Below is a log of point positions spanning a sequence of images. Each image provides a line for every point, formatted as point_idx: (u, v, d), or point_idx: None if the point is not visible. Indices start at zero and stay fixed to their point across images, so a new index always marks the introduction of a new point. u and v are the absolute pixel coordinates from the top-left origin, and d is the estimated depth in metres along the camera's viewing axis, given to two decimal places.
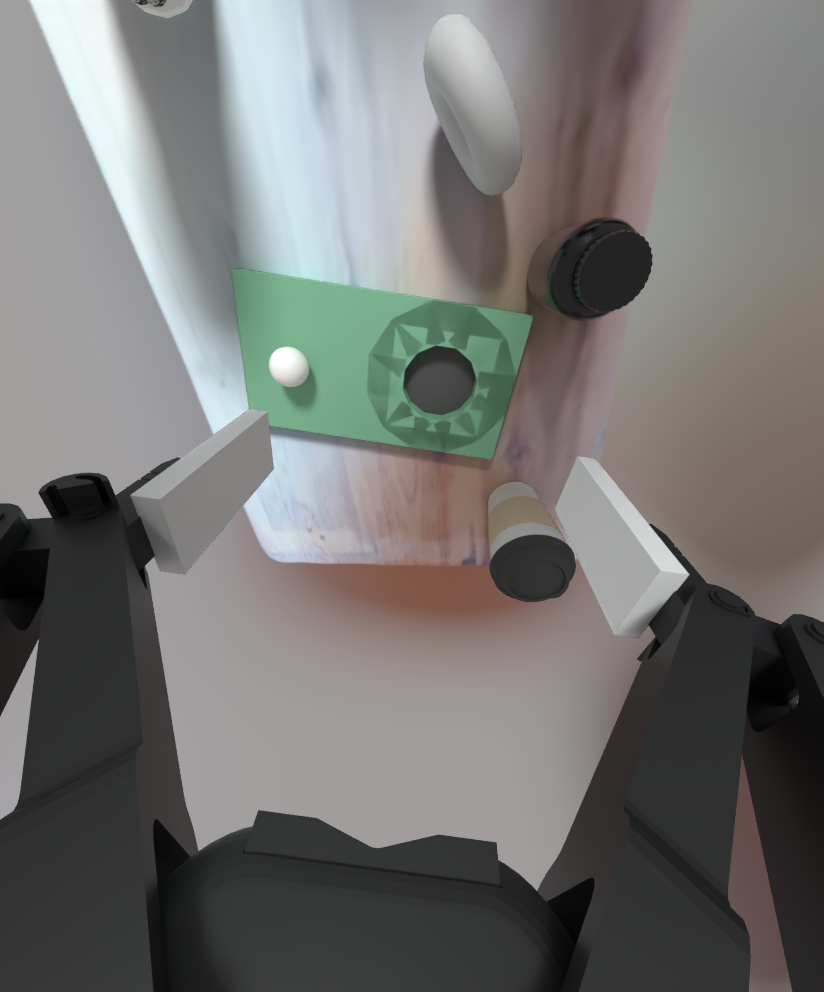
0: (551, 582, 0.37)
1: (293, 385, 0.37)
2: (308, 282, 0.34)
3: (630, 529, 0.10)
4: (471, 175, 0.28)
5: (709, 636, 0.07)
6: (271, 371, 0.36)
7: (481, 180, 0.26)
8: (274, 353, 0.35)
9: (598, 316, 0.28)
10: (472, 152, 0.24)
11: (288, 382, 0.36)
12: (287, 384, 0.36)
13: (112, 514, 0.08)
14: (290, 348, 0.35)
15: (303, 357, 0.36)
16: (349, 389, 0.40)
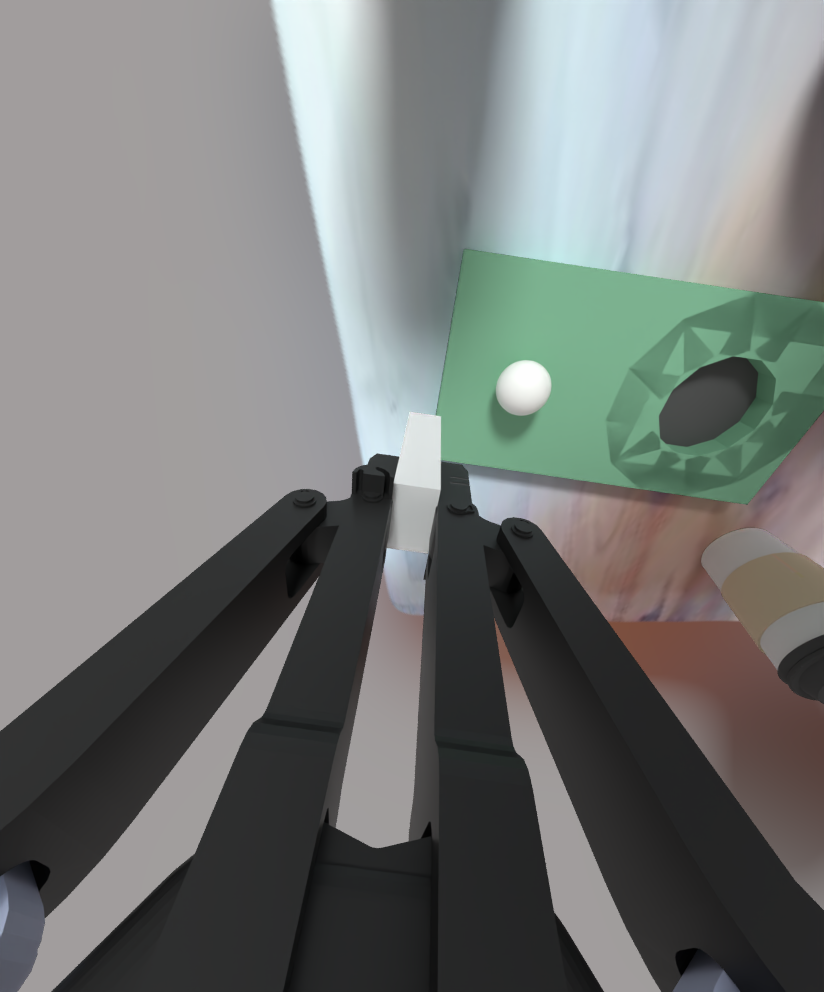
0: None
1: (528, 414, 0.26)
2: (575, 268, 0.24)
3: (419, 461, 0.12)
4: None
5: (455, 542, 0.09)
6: (507, 395, 0.25)
7: None
8: (516, 370, 0.25)
9: None
10: None
11: (529, 410, 0.25)
12: (523, 413, 0.26)
13: (385, 504, 0.10)
14: (535, 363, 0.25)
15: (549, 375, 0.26)
16: (581, 416, 0.29)
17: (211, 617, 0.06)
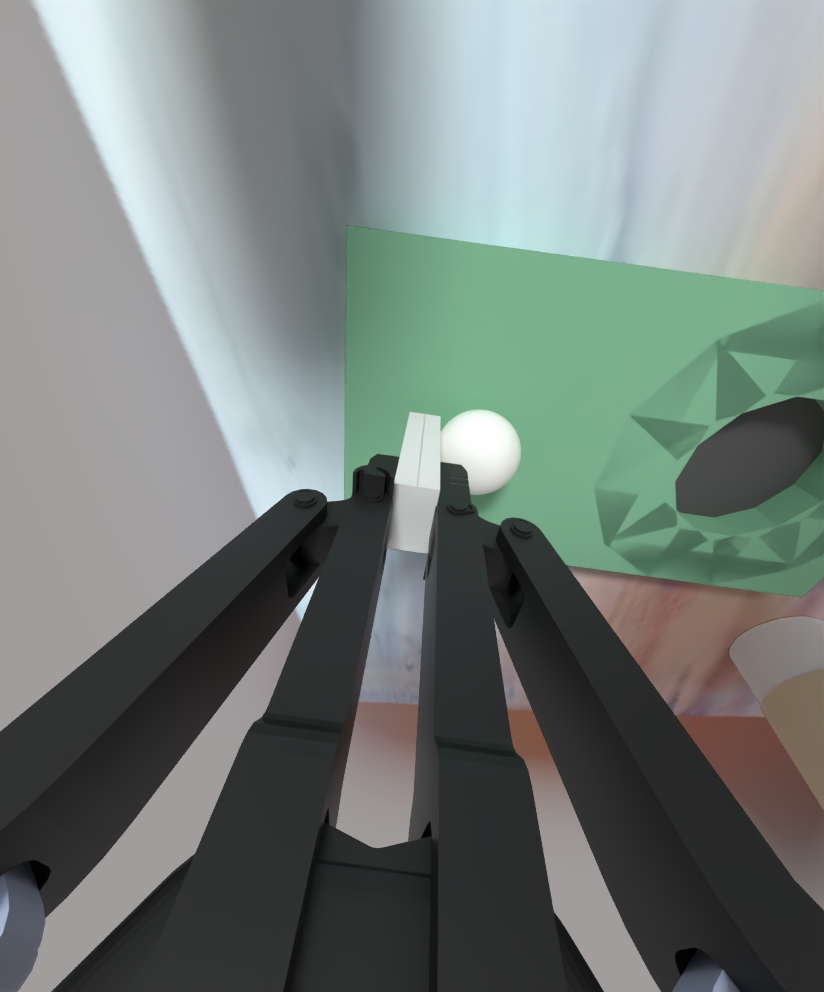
0: None
1: None
2: (535, 256, 0.14)
3: (419, 461, 0.12)
4: None
5: (455, 542, 0.09)
6: None
7: None
8: (471, 434, 0.15)
9: None
10: None
11: (497, 489, 0.16)
12: None
13: (385, 504, 0.10)
14: (495, 415, 0.15)
15: None
16: (558, 481, 0.19)
17: (212, 617, 0.06)
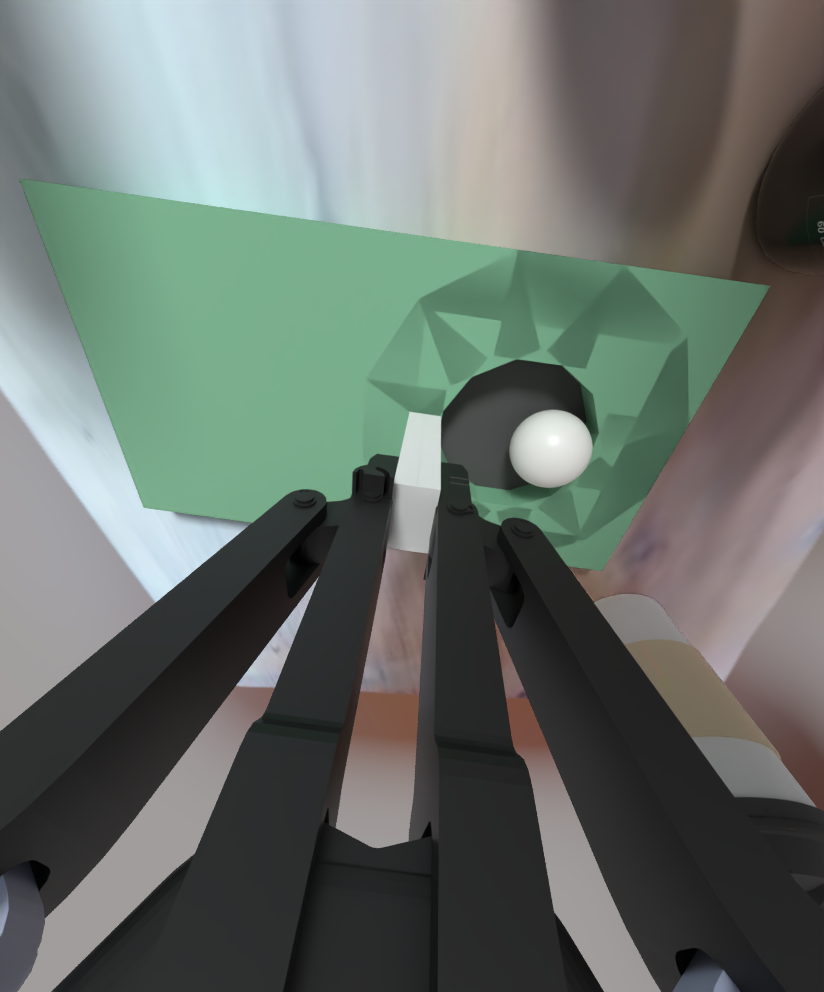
0: None
1: None
2: (213, 211, 0.14)
3: (419, 461, 0.12)
4: None
5: (455, 542, 0.09)
6: None
7: None
8: (588, 430, 0.17)
9: None
10: None
11: None
12: None
13: (385, 504, 0.10)
14: (560, 411, 0.17)
15: None
16: (325, 450, 0.19)
17: (211, 617, 0.06)
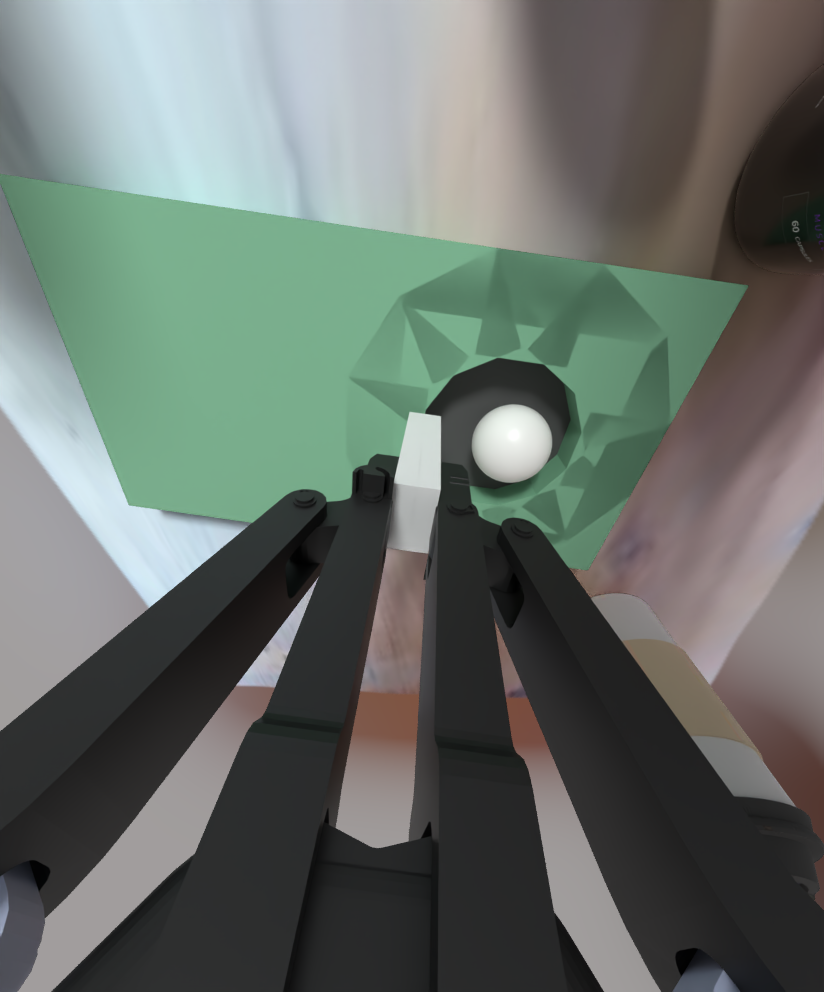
0: None
1: None
2: (191, 207, 0.14)
3: (419, 461, 0.12)
4: None
5: (455, 542, 0.09)
6: (544, 464, 0.17)
7: None
8: (545, 430, 0.17)
9: None
10: None
11: None
12: None
13: (385, 504, 0.10)
14: (524, 406, 0.17)
15: None
16: (309, 448, 0.19)
17: (211, 617, 0.06)
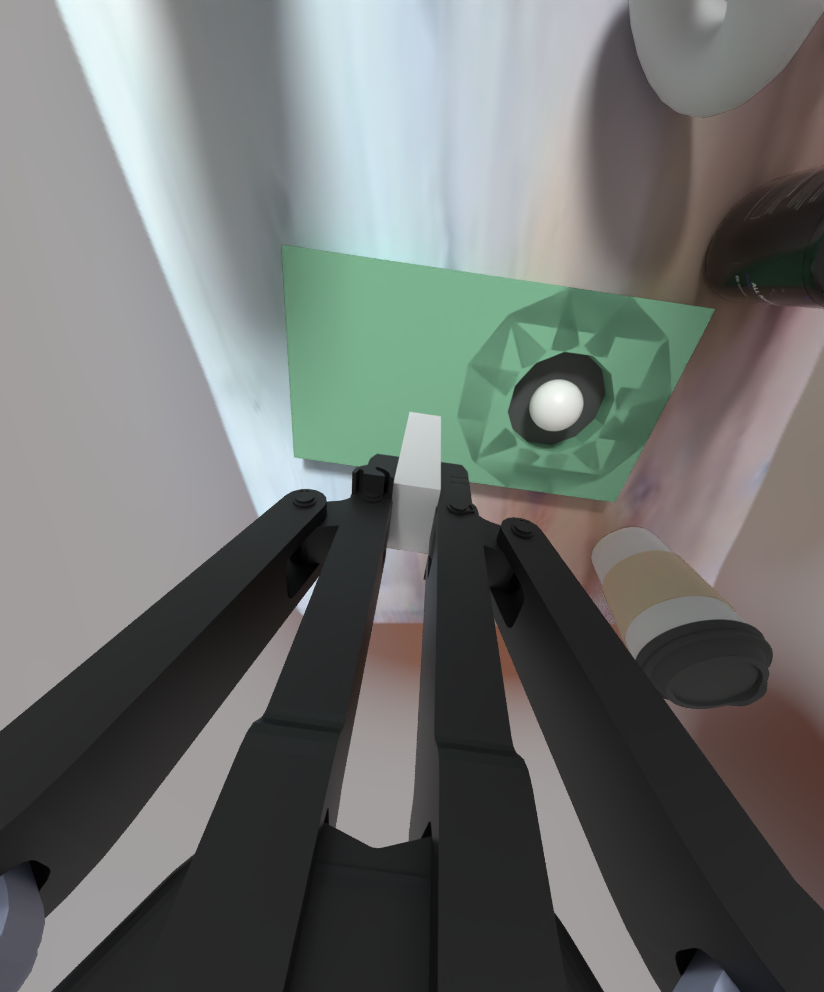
0: (735, 685, 0.26)
1: None
2: (392, 263, 0.24)
3: (419, 461, 0.12)
4: (678, 84, 0.18)
5: (455, 542, 0.09)
6: (571, 418, 0.27)
7: (723, 78, 0.16)
8: (573, 394, 0.26)
9: None
10: (741, 14, 0.14)
11: None
12: None
13: (385, 504, 0.10)
14: (567, 381, 0.27)
15: None
16: (433, 413, 0.29)
17: (211, 617, 0.06)
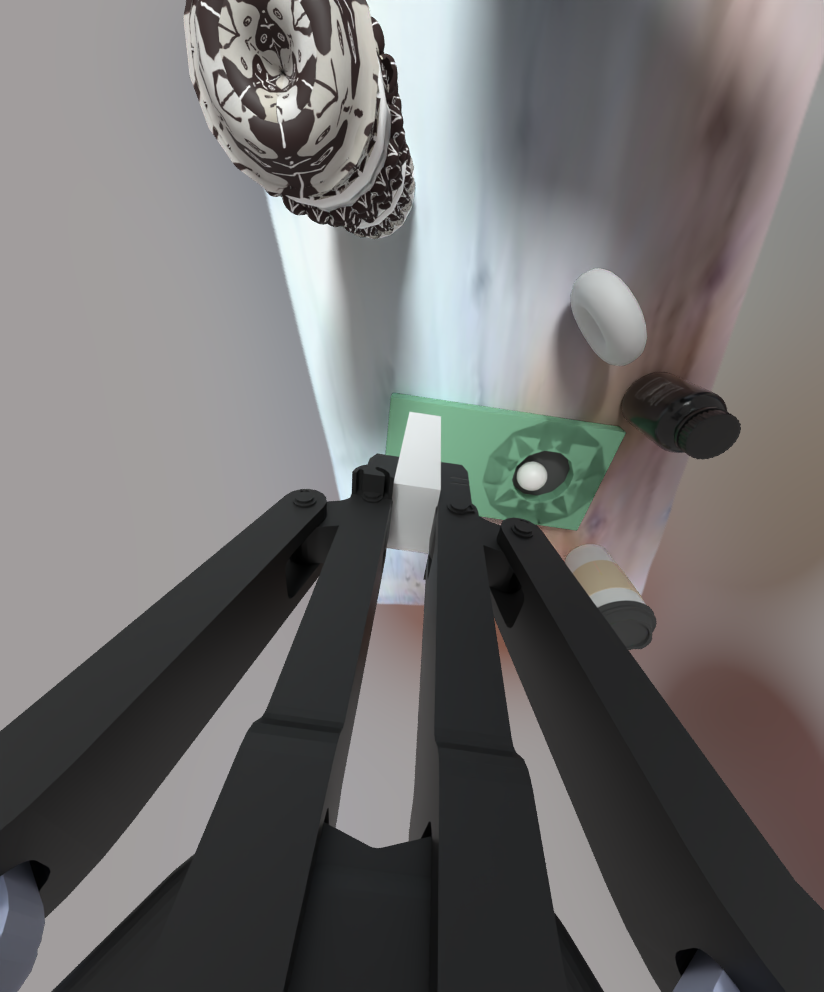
0: (636, 637, 0.46)
1: None
2: (450, 407, 0.44)
3: (419, 461, 0.12)
4: (594, 348, 0.38)
5: (455, 542, 0.09)
6: (532, 484, 0.46)
7: (609, 361, 0.36)
8: (535, 471, 0.46)
9: None
10: (610, 351, 0.34)
11: (540, 487, 0.48)
12: (537, 489, 0.48)
13: (385, 504, 0.10)
14: (539, 464, 0.47)
15: None
16: None
17: (211, 617, 0.06)
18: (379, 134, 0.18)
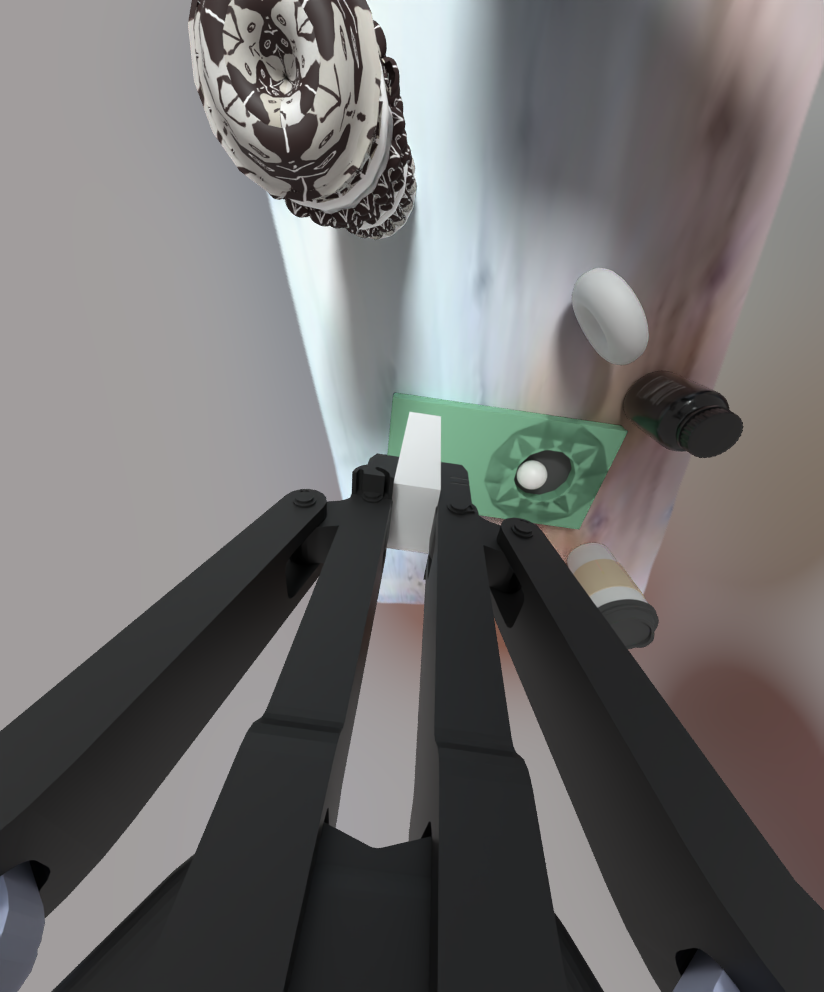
0: (638, 635, 0.46)
1: None
2: (452, 407, 0.44)
3: (419, 461, 0.12)
4: (596, 347, 0.38)
5: (455, 542, 0.09)
6: (530, 483, 0.47)
7: (610, 360, 0.36)
8: (533, 470, 0.46)
9: None
10: (611, 350, 0.34)
11: None
12: (536, 488, 0.48)
13: (385, 504, 0.10)
14: (539, 463, 0.47)
15: None
16: (469, 479, 0.49)
17: (211, 617, 0.06)
18: (381, 137, 0.18)
